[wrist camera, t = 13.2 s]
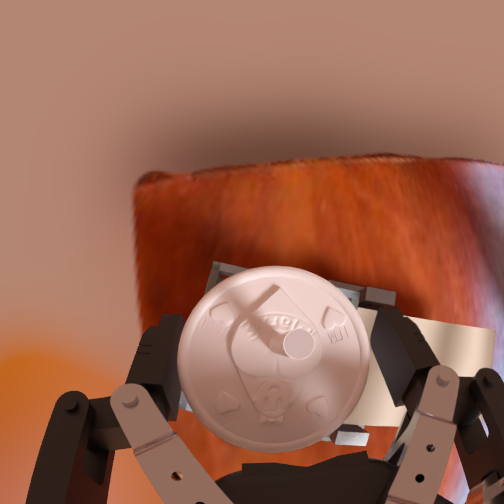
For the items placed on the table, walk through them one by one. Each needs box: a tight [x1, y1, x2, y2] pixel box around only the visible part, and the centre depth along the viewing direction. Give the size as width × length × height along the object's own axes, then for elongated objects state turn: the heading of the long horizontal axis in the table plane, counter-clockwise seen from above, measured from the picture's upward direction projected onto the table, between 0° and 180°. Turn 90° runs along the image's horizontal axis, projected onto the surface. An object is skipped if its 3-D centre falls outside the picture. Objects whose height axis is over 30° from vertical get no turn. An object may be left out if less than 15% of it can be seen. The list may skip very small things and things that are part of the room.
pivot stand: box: [322, 280, 396, 446], centre depth 21 cm, size 6×14×6 cm, turn 167°
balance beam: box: [179, 261, 496, 437], centre depth 18 cm, size 24×10×3 cm, turn 77°
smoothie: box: [177, 266, 370, 453], centre depth 11 cm, size 6×6×14 cm
